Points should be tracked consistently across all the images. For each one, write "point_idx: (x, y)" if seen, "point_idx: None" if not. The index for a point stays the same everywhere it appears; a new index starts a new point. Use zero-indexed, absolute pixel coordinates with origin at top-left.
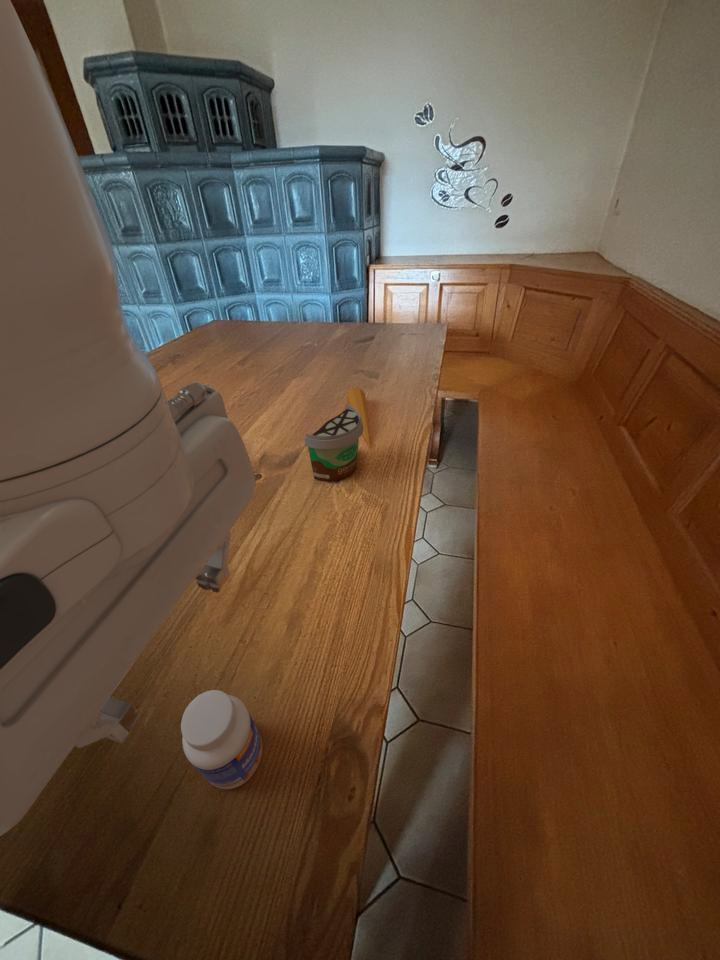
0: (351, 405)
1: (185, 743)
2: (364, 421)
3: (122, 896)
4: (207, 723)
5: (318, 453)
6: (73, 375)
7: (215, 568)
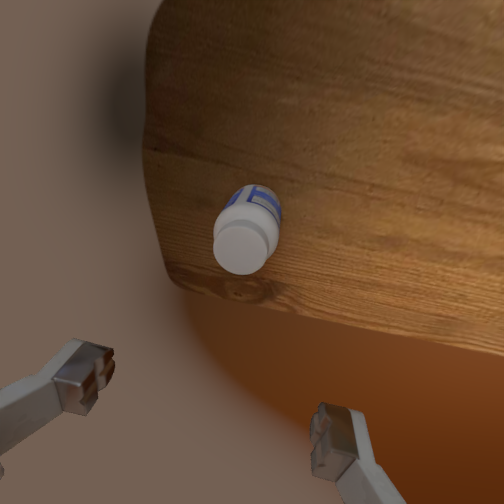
0: None
1: (226, 215)
2: None
3: (160, 148)
4: (232, 254)
5: None
6: None
7: (337, 477)
